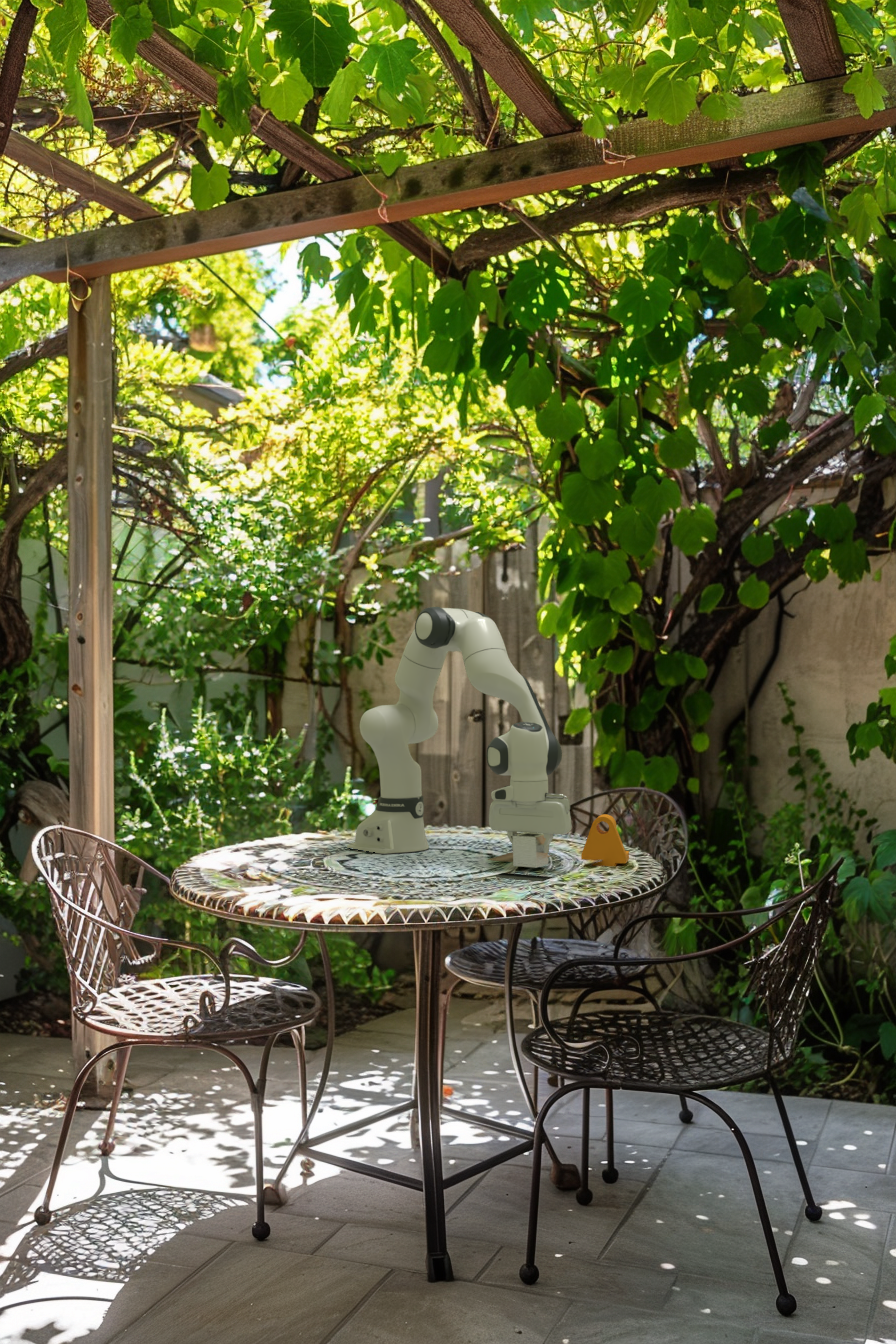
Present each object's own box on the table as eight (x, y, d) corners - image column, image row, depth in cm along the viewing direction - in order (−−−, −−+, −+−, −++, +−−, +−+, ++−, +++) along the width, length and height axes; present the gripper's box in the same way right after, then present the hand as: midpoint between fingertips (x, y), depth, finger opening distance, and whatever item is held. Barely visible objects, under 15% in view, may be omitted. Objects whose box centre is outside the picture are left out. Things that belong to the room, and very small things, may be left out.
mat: (496, 877, 287) (496, 875, 287) (520, 869, 298) (520, 866, 298) (542, 881, 281) (542, 878, 281) (565, 872, 291) (565, 870, 291)
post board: (486, 865, 304) (485, 835, 304) (510, 858, 314) (509, 828, 314) (530, 869, 297) (529, 838, 297) (552, 861, 308) (551, 831, 308)
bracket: (629, 861, 305) (628, 813, 305) (625, 866, 298) (624, 817, 298) (586, 860, 308) (585, 812, 308) (581, 865, 301) (580, 816, 301)
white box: (513, 865, 288) (512, 835, 288) (525, 861, 294) (524, 832, 293) (536, 867, 285) (535, 837, 285) (548, 863, 290) (547, 833, 290)
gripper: (575, 792, 286) (576, 852, 287) (498, 789, 297) (499, 846, 297) (563, 795, 281) (564, 856, 281) (485, 792, 292) (486, 850, 292)
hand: (530, 851), depth 289 cm, fingers closed on white box, 6 cm apart
